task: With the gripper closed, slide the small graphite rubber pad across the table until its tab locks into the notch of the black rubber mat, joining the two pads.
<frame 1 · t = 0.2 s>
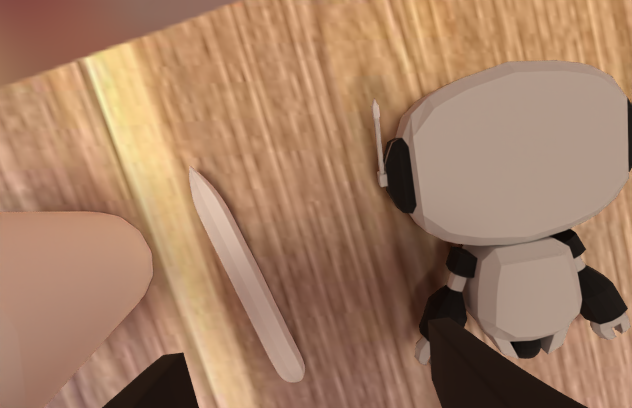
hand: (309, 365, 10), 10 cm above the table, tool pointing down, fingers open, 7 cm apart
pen: (251, 272, 21), on the table
foam cup: (103, 263, 21), on the table
robot toy: (484, 213, 20), on the table
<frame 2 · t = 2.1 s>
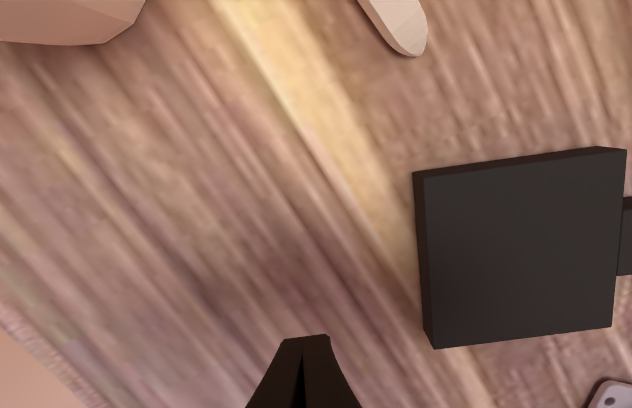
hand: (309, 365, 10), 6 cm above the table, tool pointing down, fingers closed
graphite pad: (504, 244, 16), on the table
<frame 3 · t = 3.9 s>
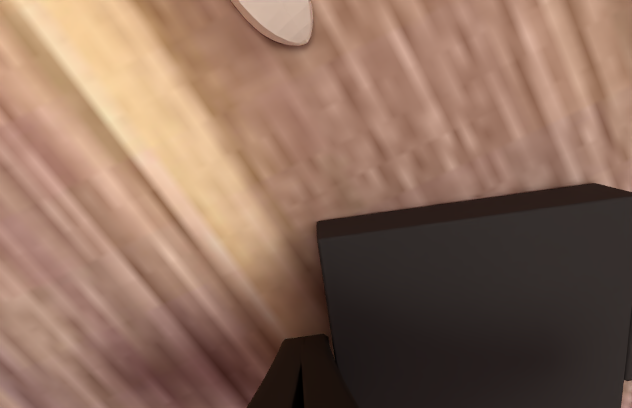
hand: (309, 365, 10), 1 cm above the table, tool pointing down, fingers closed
graphite pad: (459, 323, 11), on the table, touching gripper
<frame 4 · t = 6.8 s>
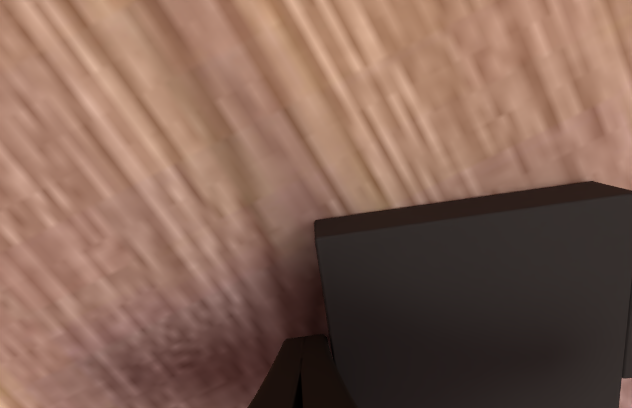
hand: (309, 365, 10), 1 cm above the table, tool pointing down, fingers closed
graphite pad: (457, 321, 11), on the table, touching gripper
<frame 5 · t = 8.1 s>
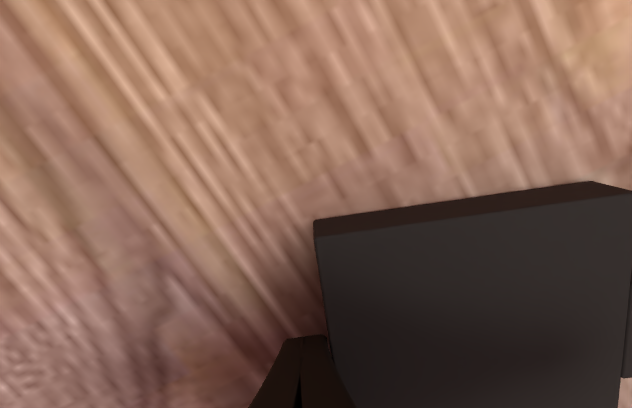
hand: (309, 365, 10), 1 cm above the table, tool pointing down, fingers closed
graphite pad: (456, 321, 11), on the table, touching gripper
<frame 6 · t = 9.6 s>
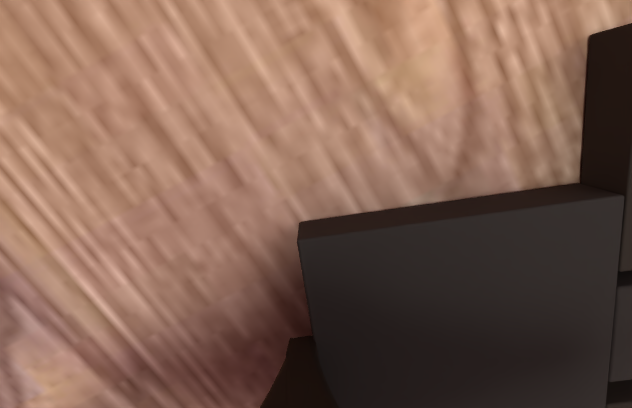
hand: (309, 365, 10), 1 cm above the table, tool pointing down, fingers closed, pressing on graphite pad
graphite pad: (444, 323, 11), on the table, touching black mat, gripper
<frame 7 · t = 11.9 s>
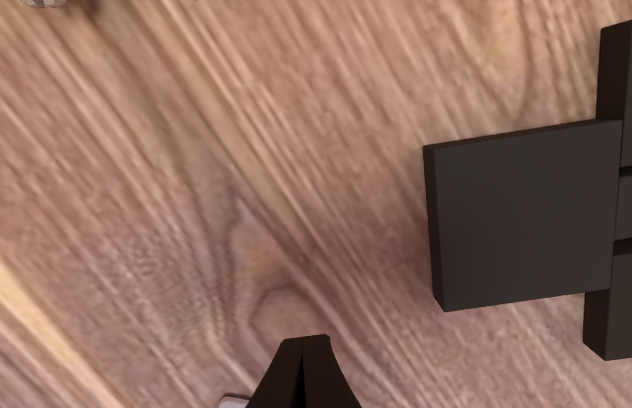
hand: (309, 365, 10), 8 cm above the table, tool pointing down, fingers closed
graphite pad: (508, 213, 17), on the table
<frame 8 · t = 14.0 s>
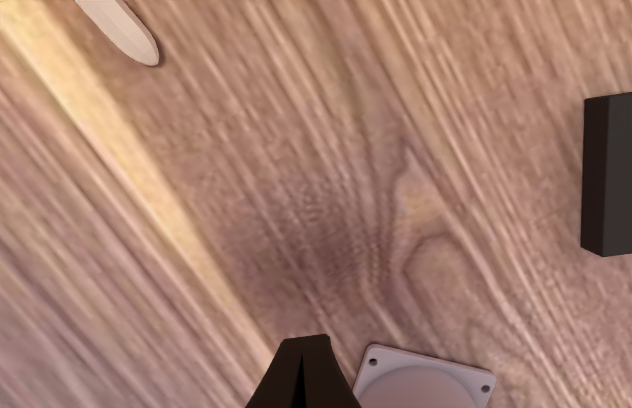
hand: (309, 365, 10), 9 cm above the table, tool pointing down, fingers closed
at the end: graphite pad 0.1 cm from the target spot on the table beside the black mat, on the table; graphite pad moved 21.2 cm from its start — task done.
